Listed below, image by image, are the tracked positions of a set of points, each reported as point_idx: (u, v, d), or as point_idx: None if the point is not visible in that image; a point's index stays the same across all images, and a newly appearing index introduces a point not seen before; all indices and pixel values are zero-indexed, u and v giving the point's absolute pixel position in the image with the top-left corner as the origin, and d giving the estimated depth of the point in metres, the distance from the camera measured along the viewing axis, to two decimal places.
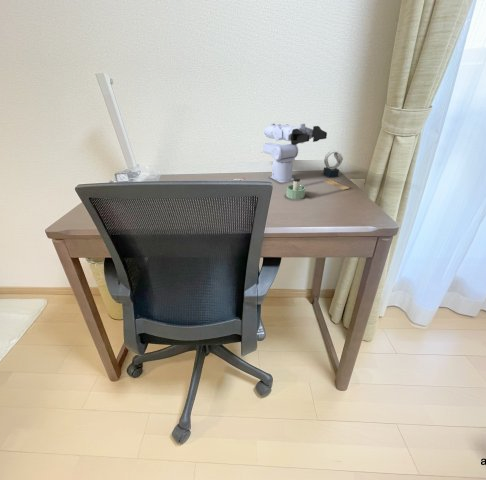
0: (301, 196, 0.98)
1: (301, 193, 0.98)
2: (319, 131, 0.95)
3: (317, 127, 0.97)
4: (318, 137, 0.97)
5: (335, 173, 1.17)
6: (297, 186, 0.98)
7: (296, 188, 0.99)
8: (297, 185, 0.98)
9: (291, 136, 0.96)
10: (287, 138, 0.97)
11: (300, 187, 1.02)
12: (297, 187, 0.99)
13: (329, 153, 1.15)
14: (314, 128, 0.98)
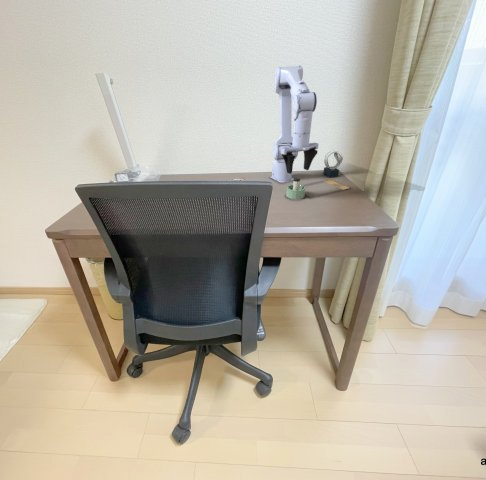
0: (301, 196, 0.98)
1: (301, 193, 0.98)
2: (309, 161, 0.95)
3: (314, 154, 0.93)
4: (305, 159, 0.96)
5: (335, 173, 1.17)
6: (297, 186, 0.98)
7: (296, 188, 0.99)
8: (297, 185, 0.98)
9: (285, 155, 0.91)
10: (282, 152, 0.90)
11: (300, 187, 1.02)
12: (297, 187, 0.99)
13: (329, 153, 1.15)
14: (311, 153, 0.92)
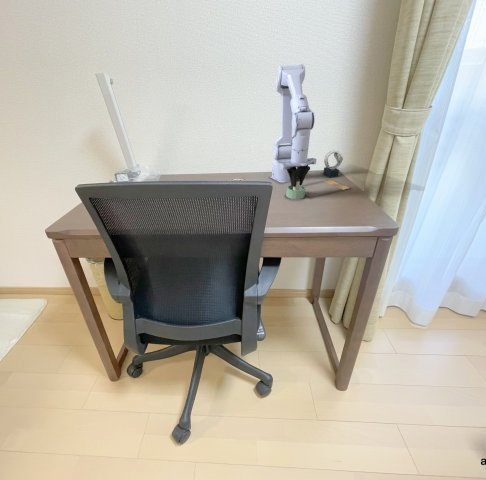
0: (301, 196, 0.98)
1: (301, 193, 0.98)
2: (302, 176, 0.97)
3: (306, 171, 0.95)
4: (298, 174, 0.98)
5: (335, 173, 1.17)
6: (297, 186, 0.98)
7: (296, 188, 0.99)
8: (297, 185, 0.98)
9: (290, 169, 0.94)
10: (281, 167, 0.93)
11: (300, 187, 1.02)
12: (297, 187, 0.99)
13: (329, 153, 1.15)
14: (304, 169, 0.95)
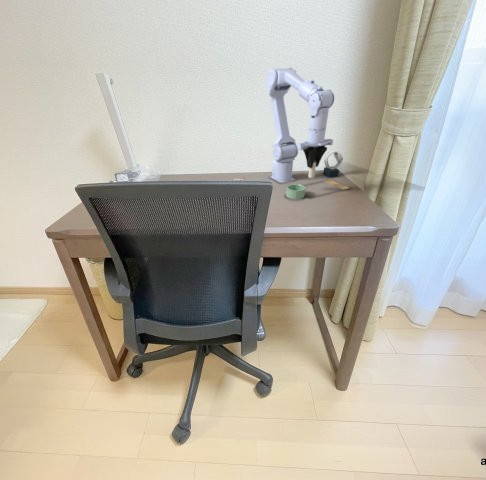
0: (301, 196, 0.98)
1: (301, 193, 0.98)
2: (318, 157, 0.97)
3: (323, 151, 0.95)
4: (315, 155, 0.99)
5: (335, 173, 1.17)
6: (313, 167, 0.99)
7: (312, 169, 0.99)
8: (313, 166, 0.98)
9: (307, 149, 0.94)
10: (298, 147, 0.93)
11: (300, 187, 1.02)
12: (313, 168, 0.99)
13: (329, 153, 1.15)
14: (321, 150, 0.95)
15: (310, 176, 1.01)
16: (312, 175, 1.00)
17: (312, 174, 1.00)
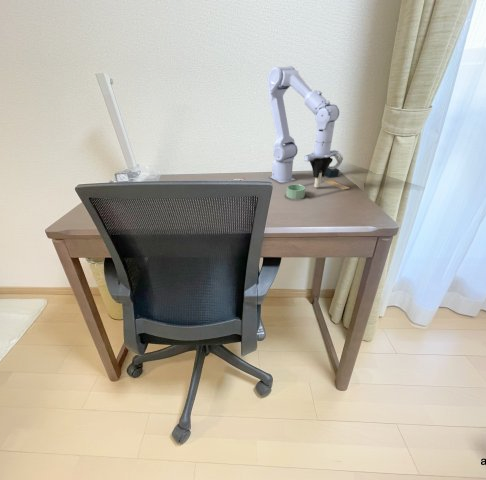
0: (301, 196, 0.98)
1: (301, 193, 0.98)
2: (324, 168, 1.01)
3: (329, 162, 1.00)
4: (320, 166, 1.03)
5: (335, 173, 1.17)
6: (319, 177, 1.03)
7: (318, 179, 1.03)
8: (319, 176, 1.03)
9: (313, 160, 0.99)
10: (305, 159, 0.98)
11: (300, 187, 1.02)
12: (319, 178, 1.03)
13: None
14: (327, 161, 0.99)
15: (316, 186, 1.05)
16: (318, 184, 1.05)
17: (318, 184, 1.04)
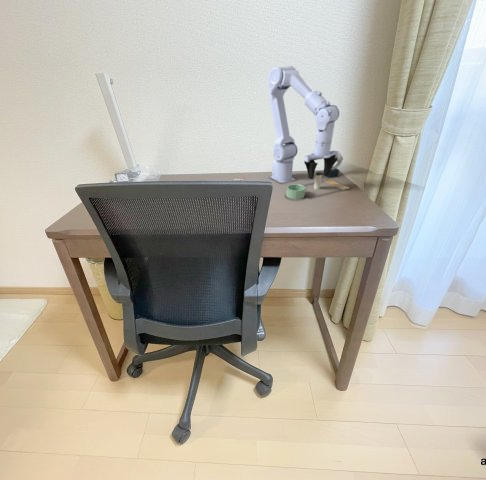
0: (301, 196, 0.98)
1: (301, 193, 0.98)
2: (329, 167, 1.02)
3: (334, 162, 1.00)
4: (325, 165, 1.04)
5: (335, 173, 1.17)
6: (319, 180, 1.04)
7: (318, 181, 1.04)
8: (319, 179, 1.03)
9: (308, 162, 0.98)
10: (305, 159, 0.98)
11: (300, 187, 1.02)
12: (319, 181, 1.04)
13: None
14: (331, 160, 1.00)
15: (316, 188, 1.05)
16: (318, 187, 1.05)
17: (318, 186, 1.05)
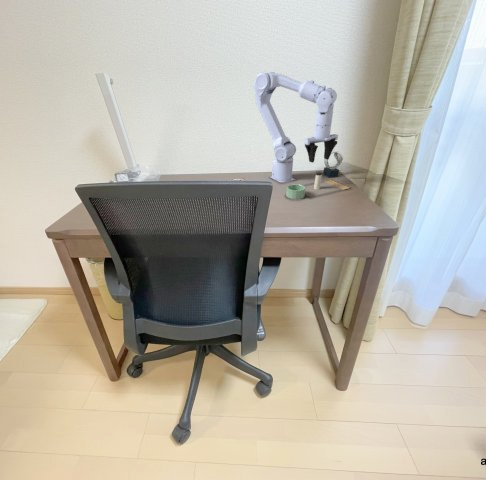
0: (301, 196, 0.98)
1: (301, 193, 0.98)
2: (329, 151, 1.04)
3: (334, 145, 1.02)
4: (325, 149, 1.06)
5: (335, 173, 1.17)
6: (319, 180, 1.04)
7: (318, 181, 1.04)
8: (319, 179, 1.03)
9: (308, 145, 1.00)
10: (305, 142, 1.00)
11: (300, 187, 1.02)
12: (319, 181, 1.04)
13: None
14: (332, 143, 1.02)
15: (316, 188, 1.05)
16: (318, 187, 1.05)
17: (318, 186, 1.05)
